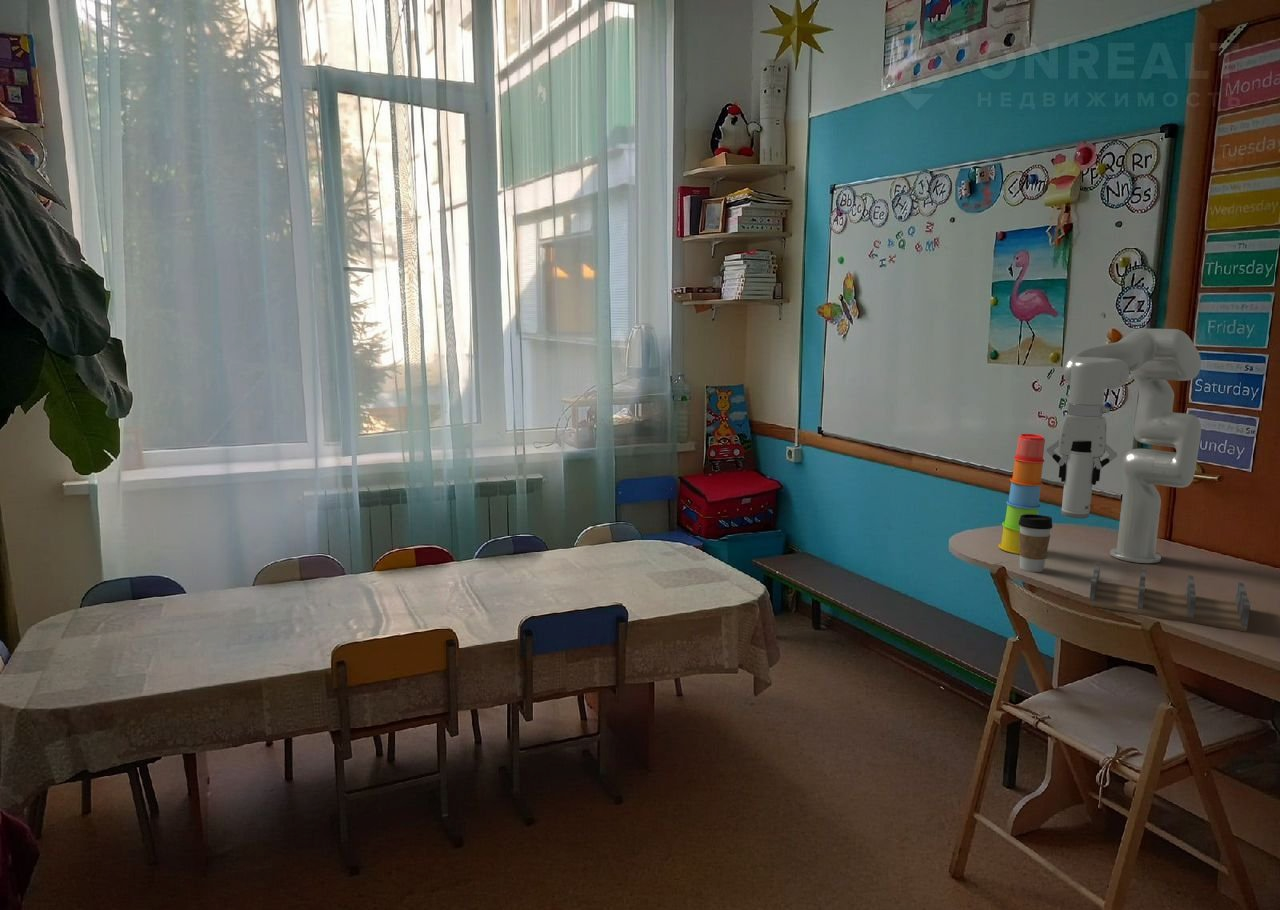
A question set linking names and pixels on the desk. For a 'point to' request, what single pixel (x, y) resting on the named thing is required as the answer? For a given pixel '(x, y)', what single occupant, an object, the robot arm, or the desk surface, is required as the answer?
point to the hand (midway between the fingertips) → (1078, 481)
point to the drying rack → (1171, 603)
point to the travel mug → (1078, 481)
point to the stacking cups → (1023, 488)
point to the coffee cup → (1034, 541)
